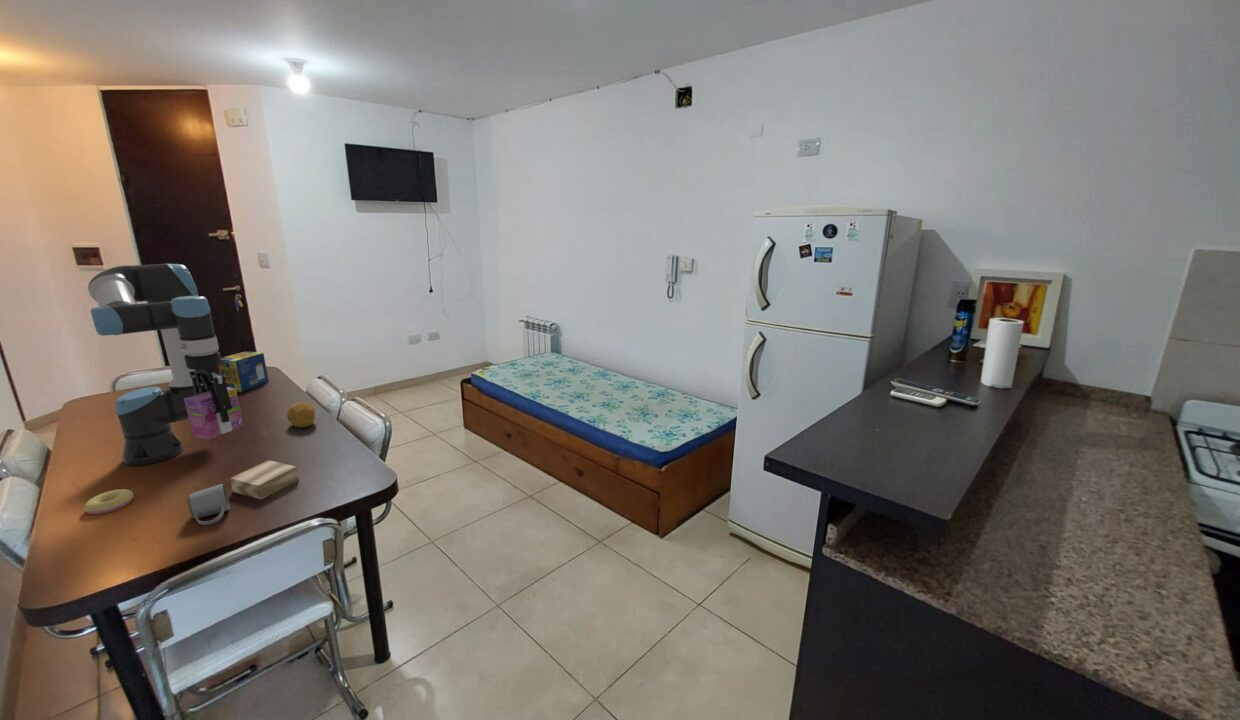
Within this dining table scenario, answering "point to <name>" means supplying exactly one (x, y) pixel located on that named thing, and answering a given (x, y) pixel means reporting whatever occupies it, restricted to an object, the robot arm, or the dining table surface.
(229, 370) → the protein box
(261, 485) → the maple block
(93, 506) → the donut
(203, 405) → the box
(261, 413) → the dining table surface
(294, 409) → the potato
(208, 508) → the ceramic mug
